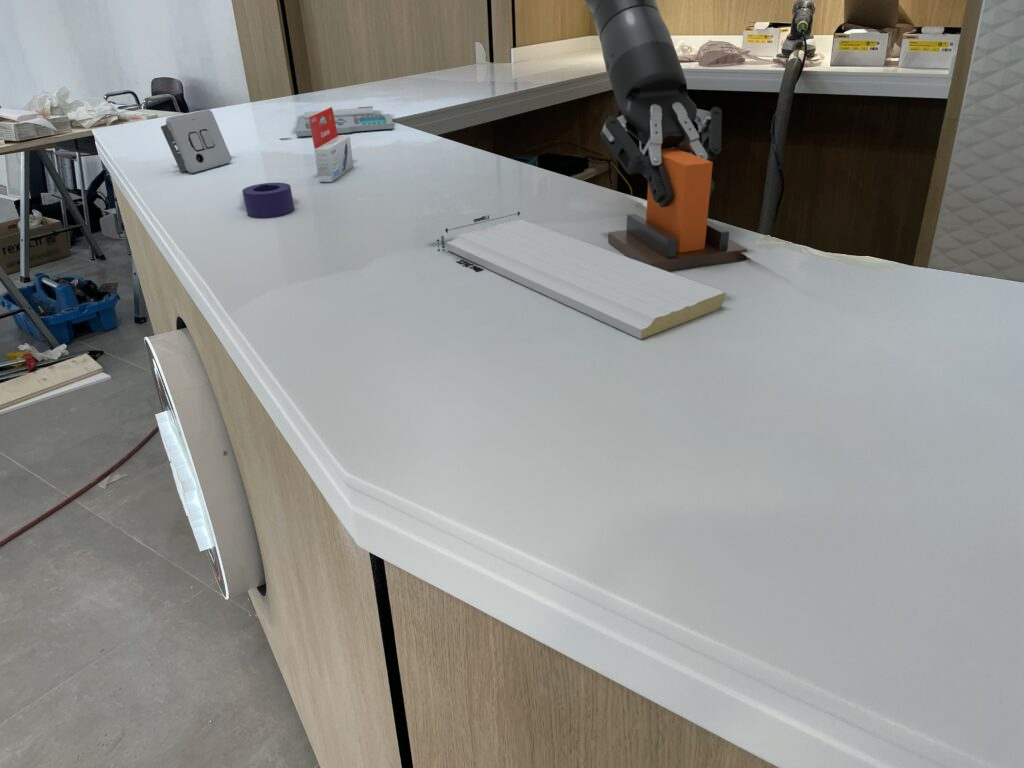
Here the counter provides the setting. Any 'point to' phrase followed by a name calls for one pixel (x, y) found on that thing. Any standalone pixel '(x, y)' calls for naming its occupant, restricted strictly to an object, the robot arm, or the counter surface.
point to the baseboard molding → (587, 276)
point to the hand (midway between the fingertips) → (686, 200)
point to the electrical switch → (196, 141)
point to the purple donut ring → (268, 200)
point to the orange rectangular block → (684, 199)
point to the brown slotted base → (673, 246)
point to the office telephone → (349, 121)
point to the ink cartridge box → (330, 147)
